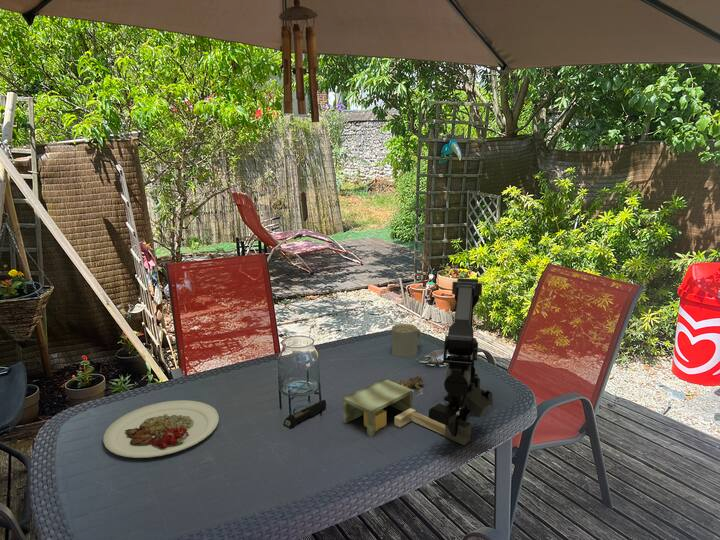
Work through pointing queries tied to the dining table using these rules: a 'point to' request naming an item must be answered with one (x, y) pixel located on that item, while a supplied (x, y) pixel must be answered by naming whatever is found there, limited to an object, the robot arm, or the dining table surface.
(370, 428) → the sage cubby
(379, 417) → the ochre cube
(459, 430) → the crook tool
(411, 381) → the frog figurine
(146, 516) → the dining table surface
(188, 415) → the plated food
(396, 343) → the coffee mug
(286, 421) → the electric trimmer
